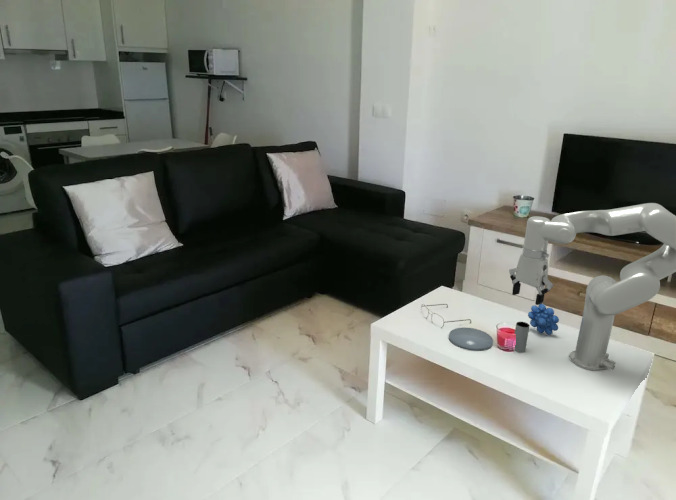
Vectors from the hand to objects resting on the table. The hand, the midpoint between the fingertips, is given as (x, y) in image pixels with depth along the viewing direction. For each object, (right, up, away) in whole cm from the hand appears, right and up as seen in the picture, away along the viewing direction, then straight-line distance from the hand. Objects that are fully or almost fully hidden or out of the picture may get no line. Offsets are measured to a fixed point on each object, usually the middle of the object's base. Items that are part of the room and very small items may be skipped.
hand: (527, 299), depth 183 cm
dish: (-17, -16, +12) cm, 26 cm away
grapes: (+12, -16, +19) cm, 27 cm away
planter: (-1, -19, +6) cm, 20 cm away
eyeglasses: (-23, -11, +30) cm, 39 cm away
